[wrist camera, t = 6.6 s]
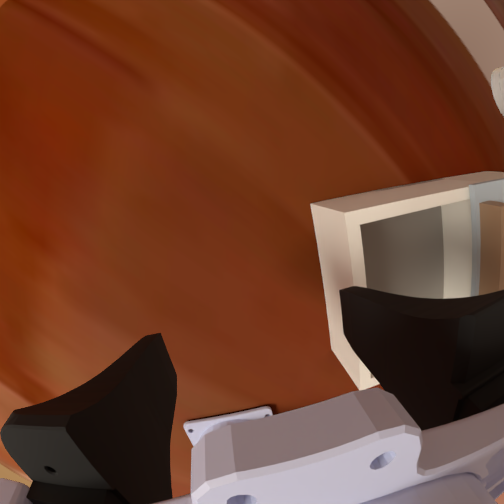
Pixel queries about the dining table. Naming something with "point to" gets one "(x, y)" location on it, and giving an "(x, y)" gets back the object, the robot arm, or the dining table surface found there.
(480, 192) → the lid
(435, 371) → the robot arm
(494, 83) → the cup
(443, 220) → the carton
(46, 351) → the dining table surface
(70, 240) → the dining table surface
